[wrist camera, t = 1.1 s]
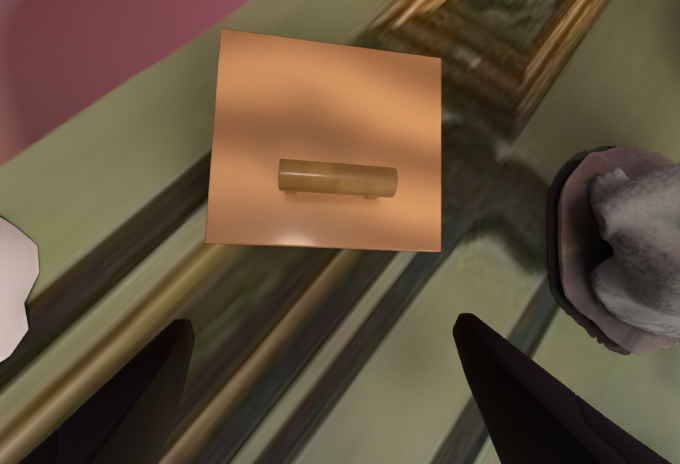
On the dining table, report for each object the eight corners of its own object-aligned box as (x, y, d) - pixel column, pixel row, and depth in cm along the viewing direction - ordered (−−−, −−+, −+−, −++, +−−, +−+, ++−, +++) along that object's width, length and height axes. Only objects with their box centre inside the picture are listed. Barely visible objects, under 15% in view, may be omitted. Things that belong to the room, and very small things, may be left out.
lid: (435, 252, 20) (477, 250, 15) (208, 243, 18) (176, 238, 13) (436, 65, 21) (474, 11, 16) (223, 37, 19) (200, -33, 14)
